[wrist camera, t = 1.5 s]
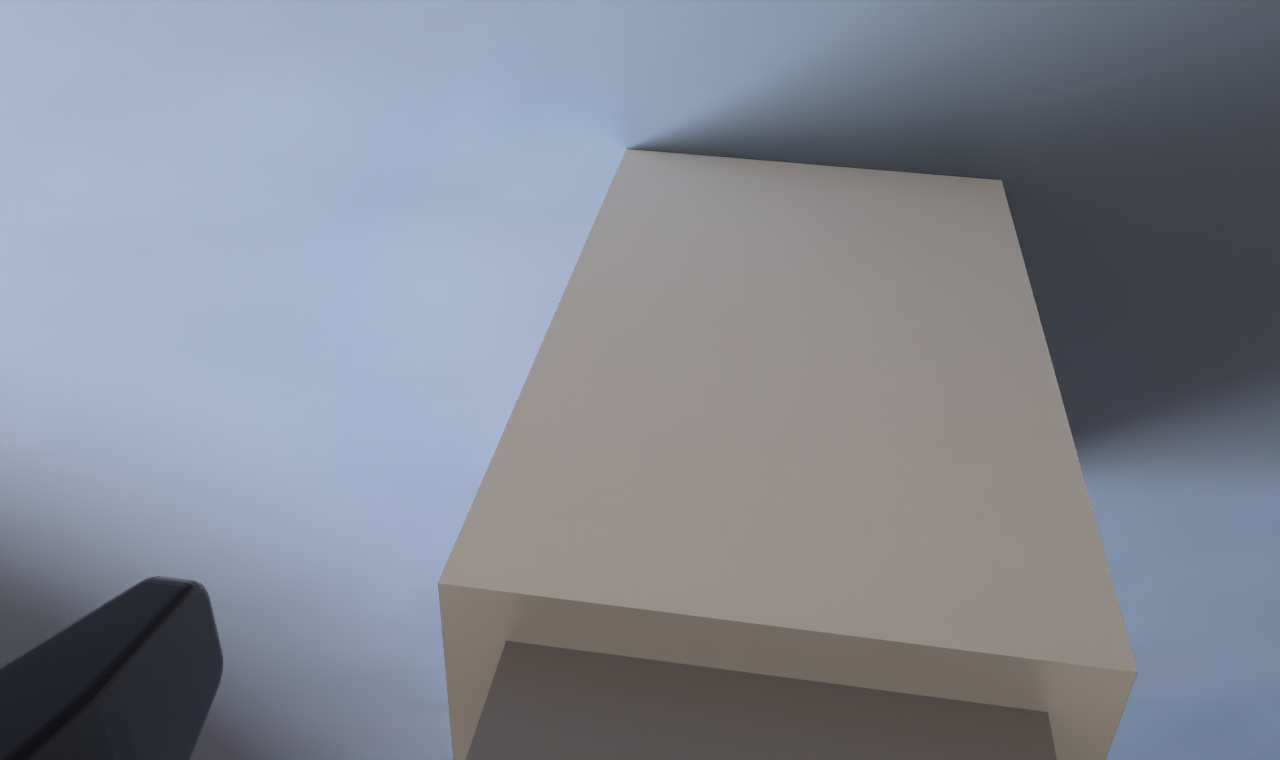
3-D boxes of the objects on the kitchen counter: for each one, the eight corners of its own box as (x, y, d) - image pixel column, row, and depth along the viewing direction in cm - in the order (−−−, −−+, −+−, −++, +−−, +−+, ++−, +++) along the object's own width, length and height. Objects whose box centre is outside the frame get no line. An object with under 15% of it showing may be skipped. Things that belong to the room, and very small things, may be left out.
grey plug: (1000, 180, 12) (1181, 825, 6) (939, 481, 14) (1012, 1205, 8) (627, 148, 13) (380, 712, 6) (619, 445, 15) (434, 1100, 8)
